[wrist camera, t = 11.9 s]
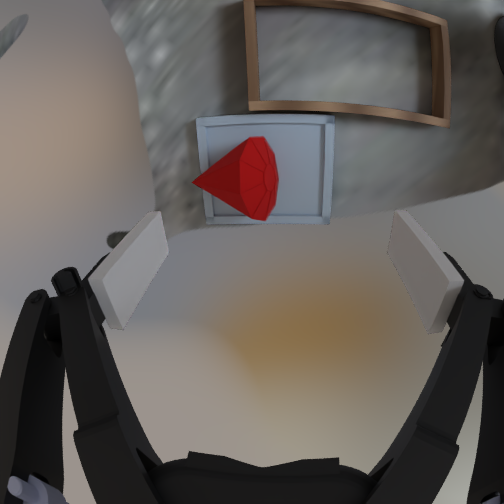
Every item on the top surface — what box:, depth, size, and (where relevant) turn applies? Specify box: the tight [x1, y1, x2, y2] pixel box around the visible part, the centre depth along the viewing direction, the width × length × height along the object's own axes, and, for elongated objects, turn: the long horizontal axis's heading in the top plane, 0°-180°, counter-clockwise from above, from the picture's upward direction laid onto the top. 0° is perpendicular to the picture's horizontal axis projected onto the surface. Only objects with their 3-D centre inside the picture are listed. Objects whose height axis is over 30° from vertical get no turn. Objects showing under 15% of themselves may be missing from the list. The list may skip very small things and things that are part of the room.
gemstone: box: [192, 136, 279, 221], centre depth 30 cm, size 9×9×10 cm
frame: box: [244, 0, 451, 128], centre depth 23 cm, size 23×14×3 cm, turn 92°
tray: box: [196, 113, 335, 224], centre depth 32 cm, size 15×13×2 cm
